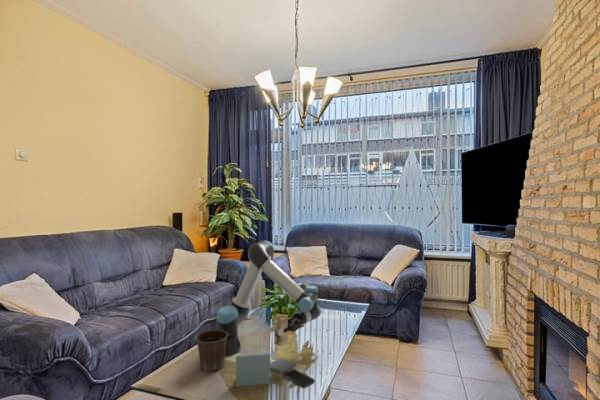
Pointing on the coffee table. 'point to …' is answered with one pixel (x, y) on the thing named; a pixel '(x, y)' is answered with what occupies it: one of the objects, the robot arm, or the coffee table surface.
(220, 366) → the plant pot
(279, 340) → the tall tan block
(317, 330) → the coffee table surface
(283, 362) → the charcoal mat
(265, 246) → the robot arm
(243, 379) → the standing board
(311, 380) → the phone
